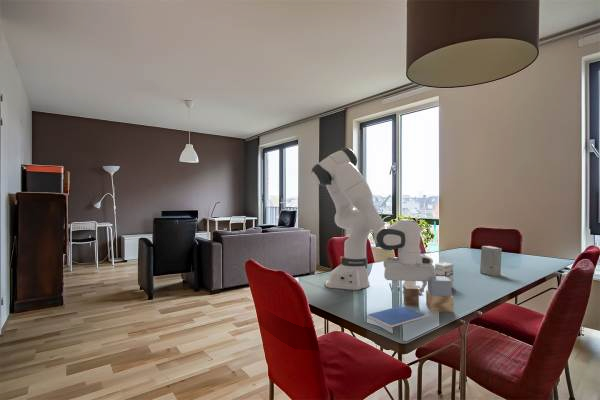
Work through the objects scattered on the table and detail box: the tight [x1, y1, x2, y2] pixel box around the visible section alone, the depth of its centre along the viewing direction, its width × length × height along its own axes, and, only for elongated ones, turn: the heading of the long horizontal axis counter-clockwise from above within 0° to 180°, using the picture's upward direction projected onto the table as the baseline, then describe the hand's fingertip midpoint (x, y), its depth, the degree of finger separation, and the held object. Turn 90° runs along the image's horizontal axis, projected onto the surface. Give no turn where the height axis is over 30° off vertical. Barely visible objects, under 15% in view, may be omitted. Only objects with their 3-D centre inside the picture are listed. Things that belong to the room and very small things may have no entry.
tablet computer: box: [366, 305, 428, 328], centre depth 114 cm, size 19×13×1 cm, turn 121°
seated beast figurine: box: [402, 281, 423, 295], centre depth 145 cm, size 10×9×12 cm
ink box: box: [434, 261, 454, 289], centre depth 150 cm, size 8×5×12 cm, turn 123°
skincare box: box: [479, 245, 503, 277], centre depth 176 cm, size 8×7×16 cm
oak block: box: [425, 289, 454, 313], centre depth 122 cm, size 8×8×6 cm
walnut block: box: [403, 285, 420, 307], centre depth 127 cm, size 5×5×7 cm
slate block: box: [427, 276, 453, 296], centre depth 122 cm, size 7×7×6 cm
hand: (409, 291), depth 127 cm, fingers open, 8 cm apart
